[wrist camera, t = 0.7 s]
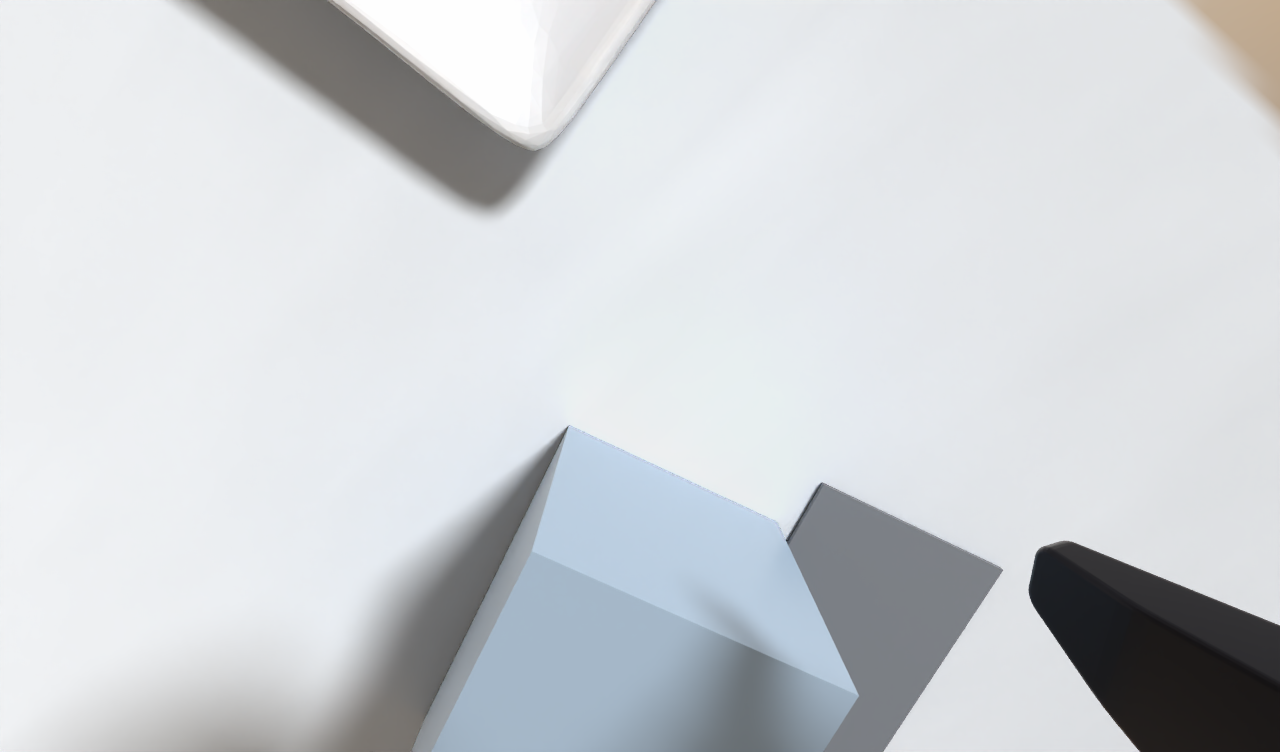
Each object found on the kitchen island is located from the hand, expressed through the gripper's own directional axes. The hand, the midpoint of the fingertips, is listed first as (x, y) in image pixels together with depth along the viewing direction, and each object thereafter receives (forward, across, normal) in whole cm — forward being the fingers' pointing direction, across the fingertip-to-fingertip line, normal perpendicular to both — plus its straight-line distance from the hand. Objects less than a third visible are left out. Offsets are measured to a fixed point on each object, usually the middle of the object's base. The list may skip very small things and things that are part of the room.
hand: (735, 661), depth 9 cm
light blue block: (+12, +1, +11) cm, 16 cm away
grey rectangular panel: (+9, -6, +14) cm, 18 cm away
